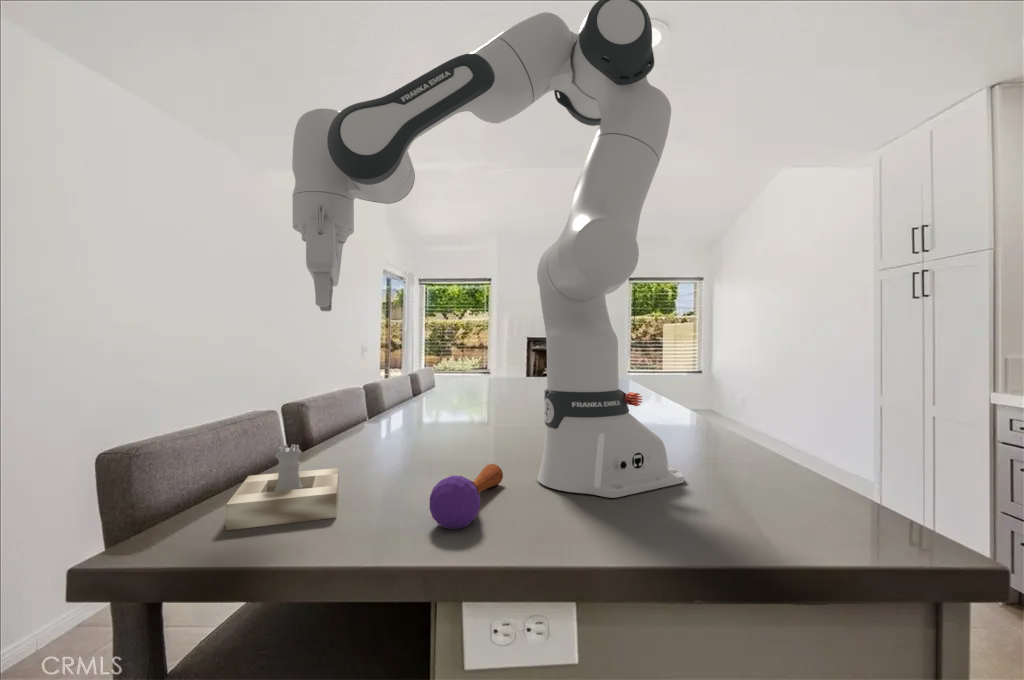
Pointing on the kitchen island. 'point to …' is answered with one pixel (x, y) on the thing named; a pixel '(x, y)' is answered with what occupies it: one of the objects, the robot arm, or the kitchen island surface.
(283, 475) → the rook chess piece
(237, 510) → the square wooden frame
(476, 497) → the purple maraca
